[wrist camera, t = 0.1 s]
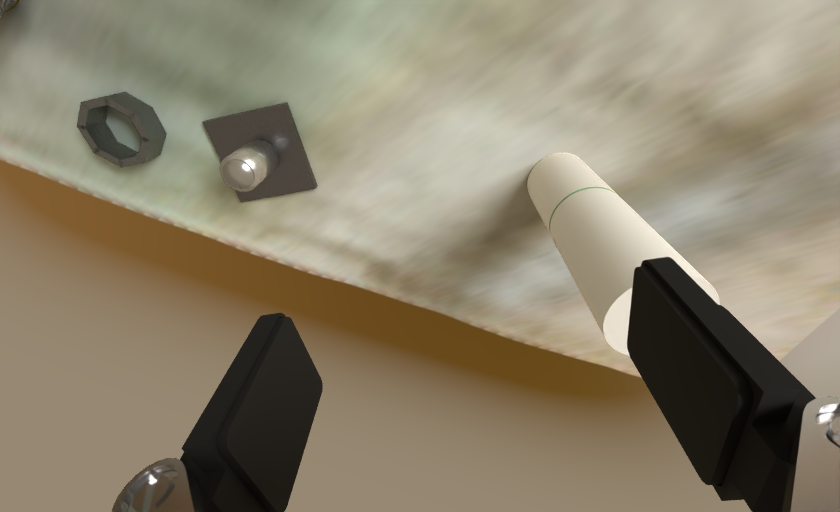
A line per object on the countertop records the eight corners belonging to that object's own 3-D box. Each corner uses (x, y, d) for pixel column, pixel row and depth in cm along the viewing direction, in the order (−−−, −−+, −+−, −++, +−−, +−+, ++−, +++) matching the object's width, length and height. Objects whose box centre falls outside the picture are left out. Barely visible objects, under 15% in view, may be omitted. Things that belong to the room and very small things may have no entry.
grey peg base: (206, 120, 44) (169, 136, 38) (287, 102, 43) (262, 116, 37) (243, 199, 49) (217, 224, 43) (317, 185, 48) (300, 209, 42)
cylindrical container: (539, 217, 49) (619, 370, 28) (517, 171, 46) (588, 302, 25) (595, 191, 47) (728, 335, 26) (576, 141, 44) (708, 256, 22)
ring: (85, 101, 43) (63, 106, 41) (141, 87, 42) (122, 92, 40) (123, 162, 47) (105, 170, 44) (176, 151, 46) (160, 159, 43)
